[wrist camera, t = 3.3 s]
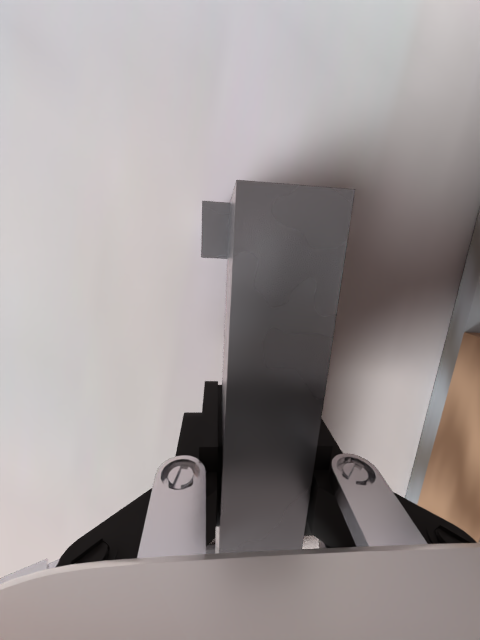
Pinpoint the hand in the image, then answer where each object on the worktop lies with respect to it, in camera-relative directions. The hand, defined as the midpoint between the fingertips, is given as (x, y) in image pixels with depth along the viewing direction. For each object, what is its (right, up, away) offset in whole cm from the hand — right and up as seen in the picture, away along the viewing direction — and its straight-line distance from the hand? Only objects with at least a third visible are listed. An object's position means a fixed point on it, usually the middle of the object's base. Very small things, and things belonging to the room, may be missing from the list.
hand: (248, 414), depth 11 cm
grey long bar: (0, -2, +5) cm, 5 cm away
